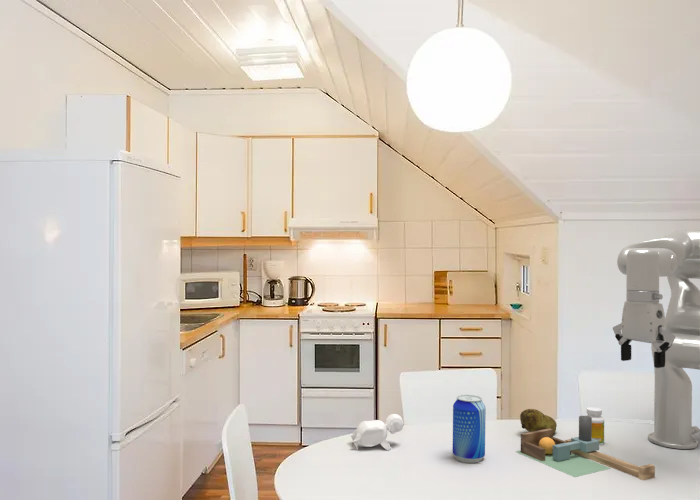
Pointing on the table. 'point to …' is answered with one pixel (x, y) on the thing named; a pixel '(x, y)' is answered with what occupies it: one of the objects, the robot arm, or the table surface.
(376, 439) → the white turtle figurine
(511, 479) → the table surface
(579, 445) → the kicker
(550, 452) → the ball
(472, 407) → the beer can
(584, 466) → the felt mat
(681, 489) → the table surface
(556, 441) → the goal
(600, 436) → the supplement bottle
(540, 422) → the potato
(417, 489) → the table surface
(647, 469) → the rail
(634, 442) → the table surface
